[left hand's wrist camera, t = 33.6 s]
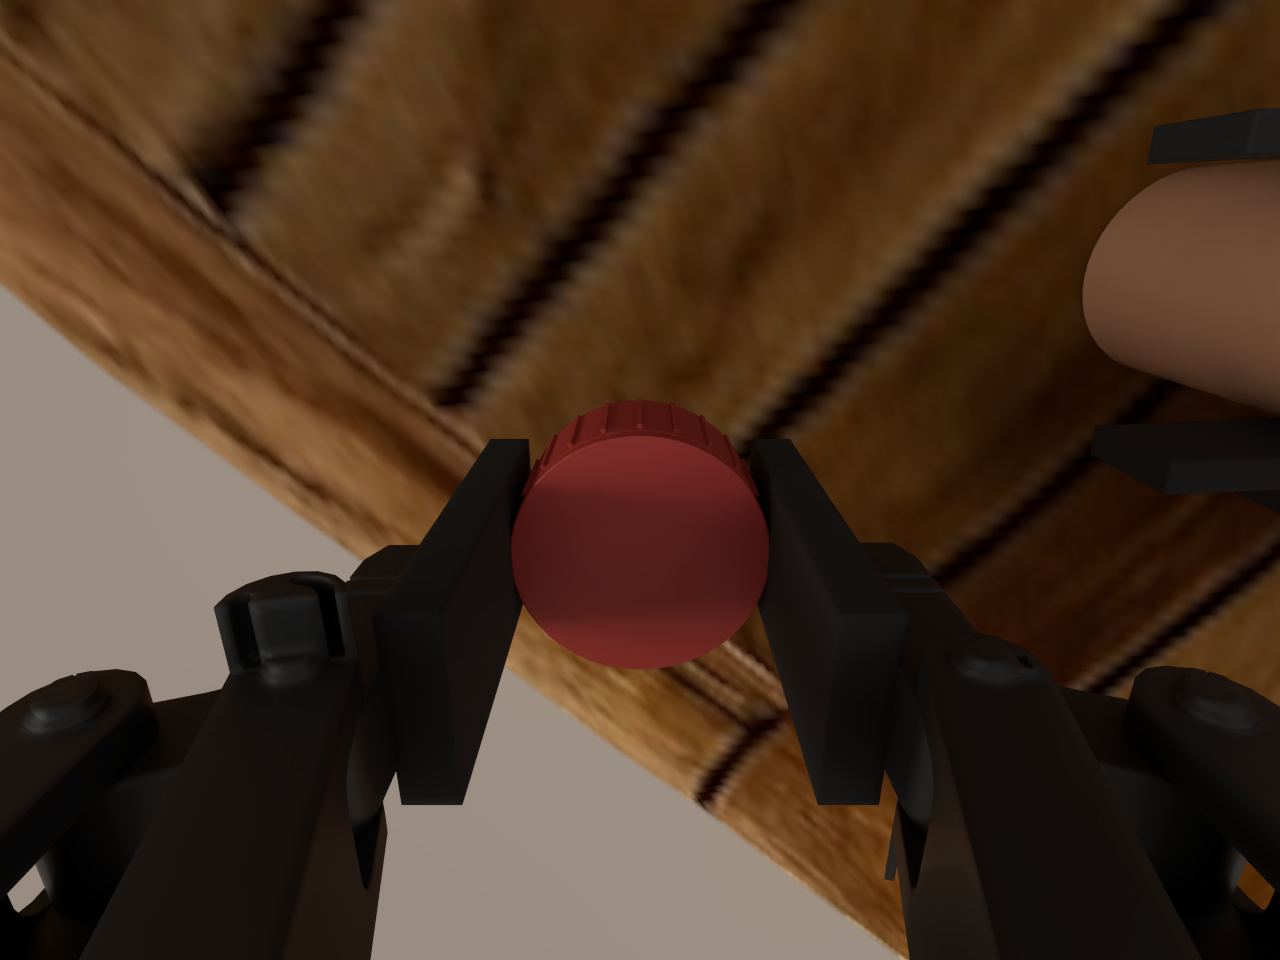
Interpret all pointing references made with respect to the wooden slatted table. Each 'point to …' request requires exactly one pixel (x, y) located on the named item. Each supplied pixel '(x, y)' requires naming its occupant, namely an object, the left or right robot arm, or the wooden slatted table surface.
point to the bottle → (1195, 282)
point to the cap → (640, 537)
